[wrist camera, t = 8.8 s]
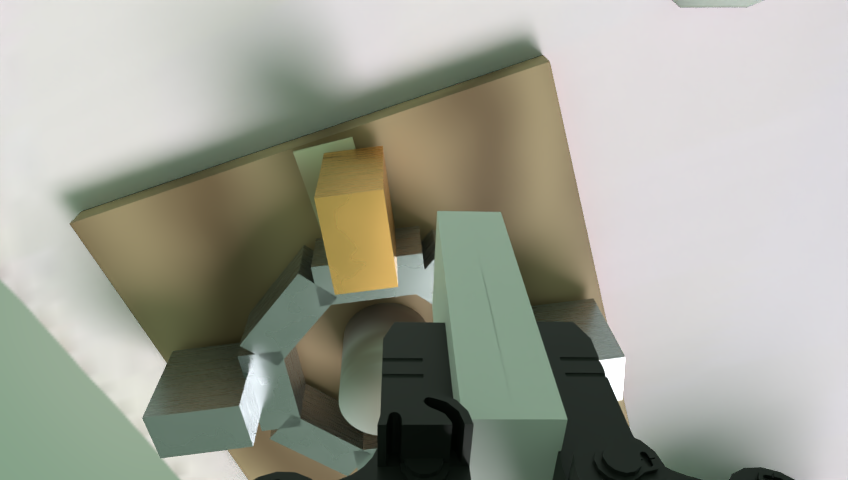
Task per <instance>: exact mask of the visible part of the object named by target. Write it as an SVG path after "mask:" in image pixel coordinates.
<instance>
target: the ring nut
mask: <svg viewBox="0 0 848 480" xmlns="http://www.w3.org/2000/svg"><path fill="white" fill-rule="evenodd" d="M314 200H315V204H316V209H317V214H318V218H319V223H320V228H321V232H322V237H323V238H316V242H315V248H314V250H312V249H311V248H309V247H307V246H306V245H304V246H303V247H302V248H301V250H300V251H299V252H298V253H297V255H296V256H295V257H294V258H293V260H292V261H291V262H290V263H289V264H288V266H287V267H286V268H285V269H284V271H283V272H282V273H281V274H280V276H279V277H278V278H277V279H276V281H275V282H274V283H273V284H272V286H271V287H270V288H269V289H268V291H267V292H266V293H265V294H264V296H263V297H262V298H261V299H260V301H259V302H258V303H257V304H256V306H255V307H254V308H253V309H252V311H251V312H250V313H249V317H248V320H247V323H246V326H245V329H244V333H243V336H242V339H241V342H240V343H233V344H225V345H217V346H209V347H201V348H193V349H185V350H177V351H173V352H172V354H171V356H170V358H169V360H168V363H167V365H166V367H165V369H164V371H163V374H162V376H161V378H160V380H159V382H158V385H157V387H156V389H155V391H154V393H153V396H152V398H151V400H150V402H149V404H148V407H147V409H146V411H145V413H144V415H143V421H144V423H145V425H146V427H147V429H148V432H149V434H150V436H151V438H152V440H153V443H154V445H155V447H156V449H157V451H158V454H159V456H160V458H166V457H174V456H182V455H190V454H198V453H206V452H214V451H222V450H230V449H238V448H246V447H253V445H254V441H255V436H256V432H257V428H258V423H259V424H260V427H261V430H262V431H267V430H271V434H270V439H271V440H273V441H275V442H277V443H279V444H281V445H283V446H285V447H287V448H289V449H292V450H294V451H296V452H298V453H300V454H302V455H304V456H306V457H308V458H310V459H312V460H315V461H317V462H319V463H321V464H323V465H325V466H327V467H329V468H331V469H333V470H335V471H338V472H340V473H342V474H344V475H346V476H349V475H350V474H351V473H352V472H353V471H354V470H355V469H356V468H357V469H358V470H359V469H361V468H362V467H364V466H365V465H366V464H367V463H368V461H369V460H370V459H371V458H372V457H373V455H374V453H375V451H376V449H377V435H372V434H368V433H365V432H363V431H360V430H358V429H357V428H355V427H354V426H352V425H351V424H350V423H349V422H348V421H347V420H346V419H345V418H344V416H343V415H342V413H341V410H340V407H339V400H337V399H335V398H333V397H331V396H329V395H327V394H325V393H323V392H321V391H320V390H318V389H316V388H314V387H312V386H310V385H308V384H306V382H305V378H304V374H303V371H302V367H301V363H300V359H299V356H298V352H297V348H296V345H297V343H298V342H299V341H300V340H301V339H302V338H303V337H304V335H305V334H306V333H307V332H308V331H309V330H310V328H311V327H312V326H313V325H314V324H315V323H316V322H317V320H318V319H319V318H320V317H321V316H322V315H323V313H324V312H325V311H326V310H327V309H328V308H329V307H330V305H334V304H342V303H350V302H358V301H366V300H374V299H382V298H390V297H398V296H406V295H414V294H417V295H418V296H420V297H422V298H423V299H425V300H426V301H428V302H429V303H431V304H432V301H433V281H434V262H435V242H436V231H435V230H433V229H432V230H431V231H430V232H429V233H428V234H427V235H426V236H425V238H424V239H423V240H422V241H421V238H420V230H419V226H413V227H405V228H397V229H395V226H394V219H393V212H392V205H391V198H390V192H389V185H388V178H387V171H386V164H385V158H384V151H383V146H377V147H369V148H360V149H352V150H344V151H336V152H328V153H324V155H323V160H322V164H321V169H320V174H319V178H318V183H317V188H316V192H315V197H314ZM531 307H532V310H533V313H534V317H535V320H536V322H574V323H575V324H576V325H577V326H578V327H579V328H580V329H581V330H582V331H583V332H584V333H586V334H587V335H588V336H589V337H590V338H591V340H592V343H593V345H594V347H595V350H596V352H597V354H598V357H599V361H601V363H602V366H603V368H604V370H605V373H606V374H605V375H606V377H608V380H609V382H610V384H611V387H612V389H613V391H614V393H615V396H616V398H617V400H618V401H619V400H622V399H623V384H624V370H625V356H624V354H623V352H622V350H621V348H620V346H619V344H618V343H617V341H616V339H615V337H614V335H613V333H612V331H611V330H610V328H609V326H608V324H607V322H606V320H605V318H604V317H603V315H602V313H601V311H600V309H599V307H598V305H597V304H596V302H595V300H594V298H592V299H584V300H576V301H568V302H560V303H552V304H544V305H536V306H531Z"/></svg>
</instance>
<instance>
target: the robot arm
mask: <svg viewBox="0 0 848 480" xmlns="http://www.w3.org/2000/svg"><path fill="white" fill-rule="evenodd" d="M432 310H433V322H394V323H393V325H392V326H391V328H390V329H389V331H388V332H387V334H386V335H385V337H384V338H383V354H382V382H381V410H380V418H379V421H378V424H377V449H376V451H375V453H374V455H373V457H372V458H371V459H370V460H369V461H368V463H367V464H366V465H365V466H364V467H362V468H361V469H359V470H358V471H356V472H355V473H353V474H352V475H349V476H347V477H344V478H342V479H339V480H701V479H697V478H694V477H690V476H686V475H683V474H680V473H678V472H675V471H672V470H670V469H668V468H666V467H665V466H664V464H663V463H662V461H661V460H660V458H659V457H658V456H657V454H656V453H655V451H653V450H652V449H651V448H649V447H648V446H647V445H646V444H644V443H643V442H642V441H640V440H638V439H636V438H634V437H633V435H632V433H631V430H630V428H629V426H628V423H627V421H626V419H625V417H624V414H623V412H622V410H621V407H620V405H619V403H618V400H617V398H616V396H615V393H614V391H613V389H612V387H611V384H610V382H609V380H608V377H606V375H605V374H606V373H605V370H604V368H603V366H602V363H601V361H599V357H598V354H597V352H596V350H595V347H594V345H593V343H592V340H591V338H590V337H589V336H588V335H587V334H586V333H584V332H583V331H582V330H581V329H580V328H579V327H578V326H577V325H576V324H575V323H574V322H536V320H535V317H534V313H533V310H532V307H531V304H530V301H529V298H528V295H527V292H526V289H525V286H524V282H523V279H522V276H521V273H520V270H519V267H518V264H517V261H516V258H515V255H514V251H513V248H512V245H511V242H510V239H509V236H508V233H507V230H506V227H505V223H504V220H503V217H502V214H501V212H473V211H437V223H436V242H435V262H434V281H433V301H432ZM254 480H312V479H311V478H309V477H306V476H304V475H301V474H299V473H296V472H274V473H270V474H267V475H263V476H260V477H257V478H256V479H254ZM729 480H794V479H792V478H790V477H788V476H786V475H784V474H782V473H781V472H777V471H773V470H769V469H765V468H761V467H760V468H743V469H741V470H739V471H737V472H735V473H733V474H732V475H731V477H730V479H729Z"/></svg>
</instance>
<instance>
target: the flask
mask: <svg viewBox="0 0 848 480" xmlns="http://www.w3.org/2000/svg"><path fill="white" fill-rule="evenodd" d="M673 1H674V2H675V3H676V4H677V5H678V6H679V7H680V8H701V7H749V6H752V5H754V4H757V3H759V2H761V1H763V0H673Z"/></svg>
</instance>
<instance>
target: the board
mask: <svg viewBox="0 0 848 480" xmlns="http://www.w3.org/2000/svg"><path fill="white" fill-rule="evenodd" d="M377 146H383V151H384V158H385V164H386V171H387V178H388V185H389V192H390V198H391V205H392V212H393V219H394V226H395V229H397V228H405V227H413V226H419V230H420V238H421V241H422V240H423V239H424V238H425V236H426V235H427V234H428V233H429V232H430V231H431V230H432V229H433V230H435V231H436V223H437V211H473V212H501V214H502V217H503V220H504V223H505V227H506V230H507V233H508V236H509V239H510V242H511V245H512V248H513V251H514V255H515V258H516V261H517V264H518V267H519V270H520V273H521V276H522V279H523V282H524V286H525V289H526V292H527V295H528V298H529V301H530V304H531V306H536V305H544V304H552V303H560V302H568V301H576V300H584V299H592V298H594V300H595V302H596V304H597V305H598V307H599V309H600V311H601V313H602V315H603V317H604V318H605V320H606V316H605V312H604V307H603V303H602V298H601V294H600V289H599V284H598V280H597V275H596V271H595V266H594V262H593V257H592V252H591V248H590V243H589V239H588V234H587V230H586V225H585V220H584V216H583V211H582V207H581V202H580V198H579V193H578V188H577V184H576V179H575V175H574V170H573V166H572V161H571V156H570V152H569V147H568V143H567V138H566V134H565V129H564V124H563V120H562V115H561V111H560V106H559V102H558V97H557V92H556V88H555V83H554V79H553V74H552V69H551V65H550V61H549V60H548V59H547V58H545V57H544V56H543V55H542V56H539V57H536V58H533V59H530V60H527V61H524V62H521V63H518V64H515V65H512V66H509V67H506V68H503V69H501V70H498V71H495V72H492V73H489V74H486V75H483V76H480V77H477V78H474V79H471V80H468V81H465V82H462V83H459V84H456V85H453V86H450V87H447V88H444V89H442V90H439V91H436V92H433V93H430V94H427V95H424V96H421V97H418V98H415V99H412V100H409V101H406V102H403V103H400V104H397V105H394V106H391V107H388V108H386V109H383V110H380V111H377V112H374V113H371V114H368V115H365V116H362V117H359V118H356V119H353V120H350V121H347V122H344V123H341V124H338V125H335V126H332V127H330V128H327V129H324V130H321V131H318V132H315V133H312V134H309V135H306V136H303V137H300V138H297V139H294V140H291V141H288V142H285V143H282V144H279V145H276V146H274V147H271V148H268V149H265V150H262V151H259V152H256V153H253V154H250V155H247V156H244V157H241V158H238V159H235V160H232V161H229V162H226V163H223V164H220V165H217V166H215V167H212V168H209V169H206V170H203V171H200V172H197V173H194V174H191V175H188V176H185V177H182V178H179V179H176V180H173V181H170V182H167V183H164V184H161V185H159V186H156V187H153V188H150V189H147V190H144V191H141V192H138V193H135V194H132V195H129V196H126V197H123V198H120V199H117V200H114V201H111V202H108V203H105V204H103V205H100V206H97V207H94V208H91V209H88V210H85V211H82V212H80V213H79V214H78V216H77V217H76V218H75V219H74V220H73V221H72V222H71V223H70V225H71V226H72V228H73V229H74V231H75V232H76V234H77V235H78V236H79V238H80V239H81V241H82V242H83V244H84V245H85V246H86V248H87V249H88V251H89V252H90V254H91V255H92V256H93V258H94V259H95V261H96V262H97V264H98V265H99V266H100V268H101V269H102V271H103V272H104V274H105V275H106V277H107V278H108V279H109V281H110V282H111V284H112V285H113V287H114V288H115V289H116V291H117V292H118V294H119V295H120V297H121V298H122V299H123V301H124V302H125V304H126V305H127V307H128V308H129V309H130V311H131V312H132V314H133V315H134V317H135V318H136V319H137V321H138V322H139V324H140V325H141V327H142V328H143V329H144V331H145V332H146V334H147V335H148V337H149V338H150V340H151V341H152V342H153V344H154V345H155V347H156V348H157V350H158V351H159V352H160V354H161V355H162V357H163V358H164V360H165V361H166V362H167V363H168V360H169V358H170V356H171V354H172V352H173V351H177V350H185V349H193V348H201V347H209V346H217V345H225V344H233V343H240V342H241V339H242V336H243V333H244V329H245V326H246V323H247V320H248V317H249V313H250V312H251V311H252V309H253V308H254V307H255V306H256V304H257V303H258V302H259V301H260V299H261V298H262V297H263V296H264V294H265V293H266V292H267V291H268V289H269V288H270V287H271V286H272V284H273V283H274V282H275V281H276V279H277V278H278V277H279V276H280V274H281V273H282V272H283V271H284V269H285V268H286V267H287V266H288V264H289V263H290V262H291V261H292V260H293V258H294V257H295V256H296V255H297V253H298V252H299V251H300V250H301V248H302V247H303V246H304V245H306V246H307V247H309V248H311V249H312V250H314V248H315V242H316V238H323V237H322V232H321V228H320V223H319V218H318V214H317V209H316V204H315V200H314V197H315V192H316V188H317V183H318V178H319V174H320V169H321V164H322V160H323V155H324V153H328V152H336V151H344V150H352V149H360V148H369V147H377ZM394 322H433V310H432V304H431V303H429V302H428V301H426V300H425V299H423V298H422V297H420V296H418V295H417V294H414V295H406V296H398V297H390V298H382V299H374V300H366V301H358V302H350V303H342V304H334V305H330V307H329V308H328V309H327V310H326V311H325V312H324V313H323V315H322V316H321V317H320V318H319V319H318V320H317V322H316V323H315V324H314V325H313V326H312V327H311V328H310V330H309V331H308V332H307V333H306V334H305V335H304V337H303V338H302V339H301V340H300V341H299V342H298V343H297V345H296V348H297V352H298V356H299V359H300V363H301V367H302V371H303V374H304V378H305V382H306V384H308V385H310V386H312V387H314V388H316V389H318V390H320V391H321V392H323V393H325V394H327V395H329V396H331V397H333V398H335V399H337V400H339V407H340V410H341V413H342V415H343V416H344V418H345V419H346V420H347V421H348V422H349V423H350V424H351V425H352V426H354V427H355V428H357V429H358V430H360V431H363V432H365V433H368V434H372V435H377V424H378V421H379V418H380V410H381V382H382V354H383V338H384V337H385V335H386V334H387V332H388V331H389V329H390V328H391V326H392V325H393V323H394ZM606 322H607V321H606ZM618 403H619V405H620V407H621V410H622V412H623V414H624V417H625V419H626V421H627V423H628V426H629V422H628V417H627V413H626V408H625V403H624V399H622V400H619V401H618ZM270 434H271V430H267V431H262V430H261V427H260V424H259V423H258V428H257V432H256V436H255V441H254V445H253V447H246V448H238V449H230V450H228V451H229V453H230V454H231V456H232V457H233V458H234V460H235V461H236V463H237V464H238V466H239V467H240V468H241V470H242V471H243V473H244V474H245V476H246V477H247V478H248V480H254V479H256V478H257V477H260V476H263V475H267V474H270V473H274V472H296V473H299V474H301V475H304V476H306V477H309V478H311V479H312V480H339V479H342V478H344V477H347V476H346V475H344V474H342V473H340V472H338V471H335V470H333V469H331V468H329V467H327V466H325V465H323V464H321V463H319V462H317V461H315V460H312V459H310V458H308V457H306V456H304V455H302V454H300V453H298V452H296V451H294V450H292V449H289V448H287V447H285V446H283V445H281V444H279V443H277V442H275V441H273V440H271V439H270ZM356 471H358V469H357V468H356V469H355V470H354V471H353V472H352V473H351V474H350V475H352V474H353V473H355V472H356Z"/></svg>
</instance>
